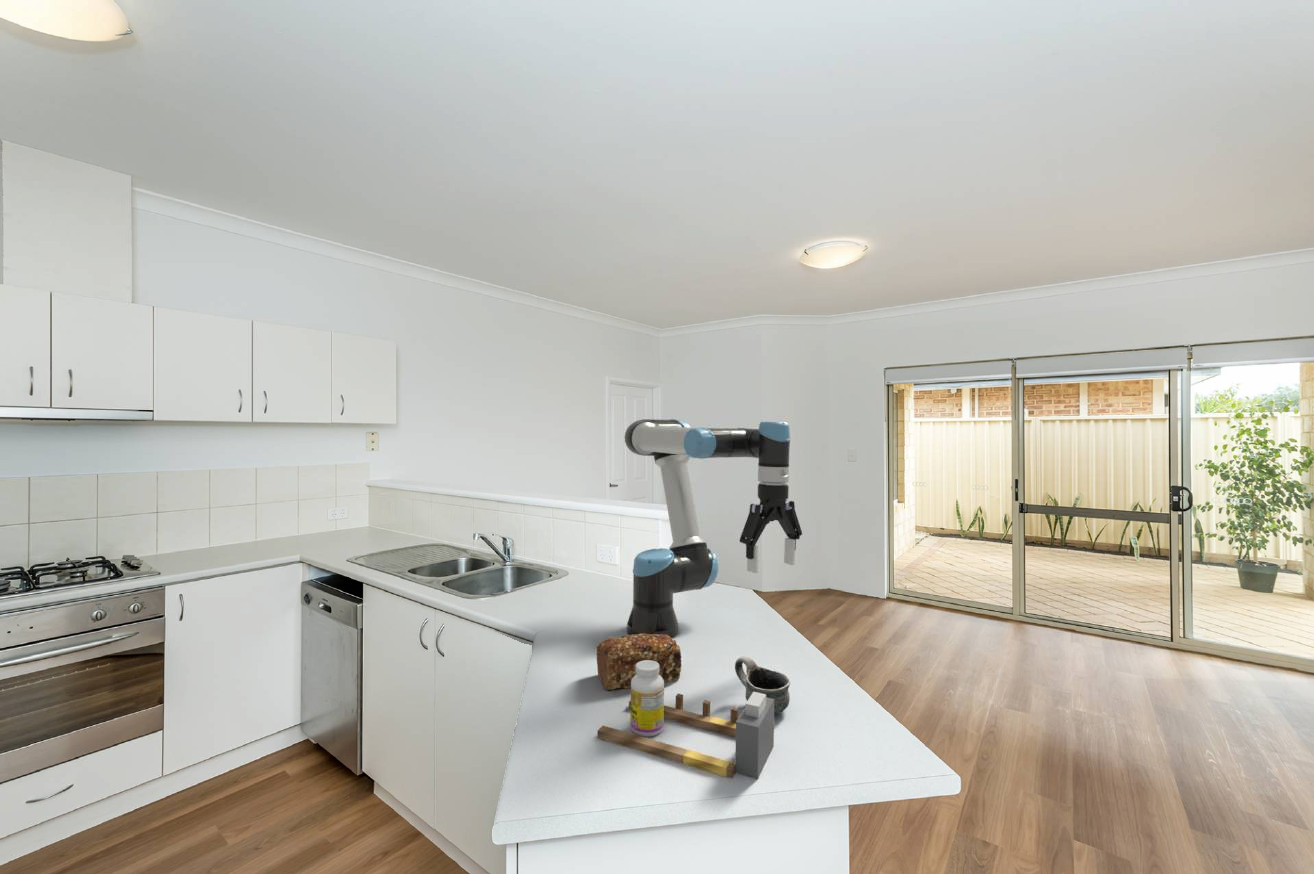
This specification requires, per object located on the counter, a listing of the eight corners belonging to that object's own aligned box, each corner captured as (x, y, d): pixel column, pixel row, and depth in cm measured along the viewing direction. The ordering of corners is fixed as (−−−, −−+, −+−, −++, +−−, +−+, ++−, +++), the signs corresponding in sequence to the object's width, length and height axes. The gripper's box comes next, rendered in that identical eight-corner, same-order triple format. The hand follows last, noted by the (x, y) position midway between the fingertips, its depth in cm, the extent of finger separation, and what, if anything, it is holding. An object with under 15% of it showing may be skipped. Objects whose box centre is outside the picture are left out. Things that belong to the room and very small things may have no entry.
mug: (780, 728, 110) (781, 678, 110) (723, 710, 117) (724, 663, 117) (796, 707, 119) (796, 661, 118) (741, 692, 125) (742, 648, 125)
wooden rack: (597, 738, 106) (597, 717, 106) (636, 701, 120) (636, 683, 120) (731, 778, 94) (732, 755, 94) (757, 732, 108) (757, 712, 108)
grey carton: (733, 772, 96) (734, 709, 96) (751, 740, 106) (752, 683, 106) (757, 779, 94) (758, 715, 94) (773, 746, 104) (774, 688, 104)
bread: (605, 694, 124) (605, 650, 124) (595, 673, 134) (595, 632, 134) (682, 682, 130) (683, 640, 130) (667, 664, 140) (667, 624, 140)
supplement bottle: (629, 720, 113) (630, 658, 112) (661, 719, 113) (662, 657, 113) (630, 739, 106) (631, 672, 106) (665, 737, 106) (666, 671, 106)
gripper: (748, 487, 127) (746, 578, 128) (817, 482, 142) (815, 564, 143) (726, 484, 133) (724, 571, 134) (794, 479, 148) (792, 557, 149)
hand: (771, 567), depth 138 cm, fingers open, 13 cm apart
